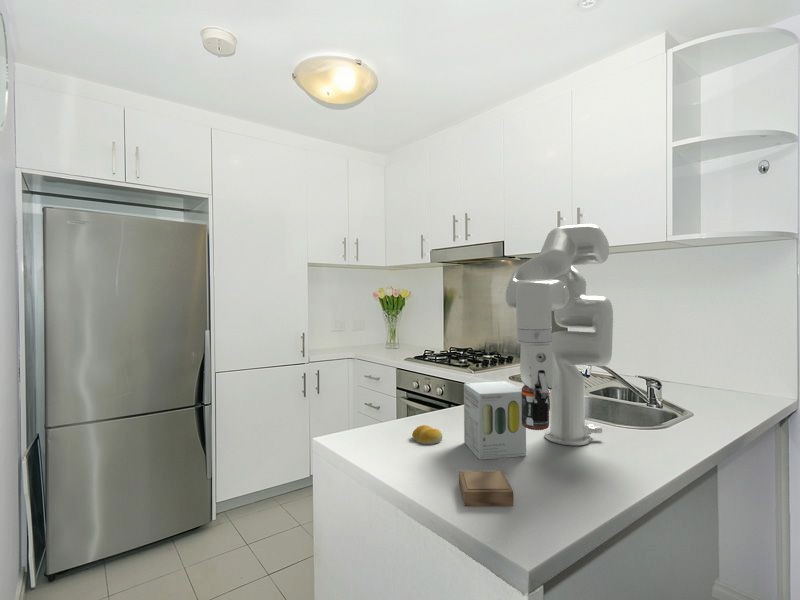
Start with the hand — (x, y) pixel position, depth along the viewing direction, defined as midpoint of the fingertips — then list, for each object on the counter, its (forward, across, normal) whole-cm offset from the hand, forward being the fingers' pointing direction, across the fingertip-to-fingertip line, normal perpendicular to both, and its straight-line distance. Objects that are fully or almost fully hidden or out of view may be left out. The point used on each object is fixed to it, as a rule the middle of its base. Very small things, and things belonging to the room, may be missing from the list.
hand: (535, 415), depth 96 cm
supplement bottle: (+3, 0, 0) cm, 3 cm away
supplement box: (+17, +21, +6) cm, 27 cm away
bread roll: (+17, +29, +24) cm, 41 cm away
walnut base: (+16, -5, +12) cm, 21 cm away
